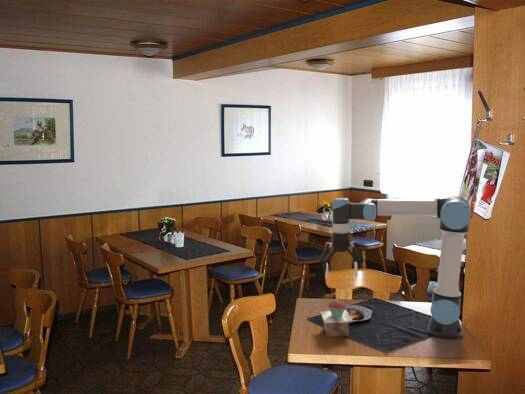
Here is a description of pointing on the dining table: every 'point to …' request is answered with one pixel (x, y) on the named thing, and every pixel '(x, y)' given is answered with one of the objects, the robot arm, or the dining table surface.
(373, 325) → the dining table surface
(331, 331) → the white box
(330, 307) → the cupcake
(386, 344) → the dining table surface
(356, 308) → the food plate
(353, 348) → the dining table surface
